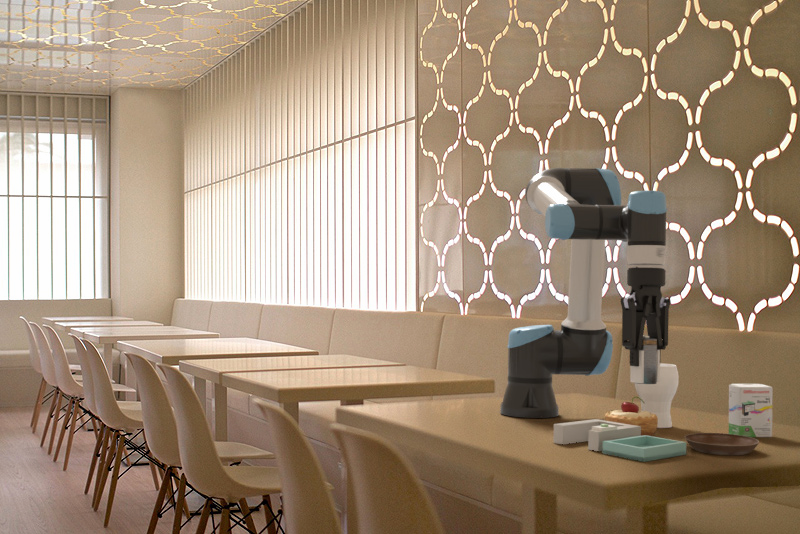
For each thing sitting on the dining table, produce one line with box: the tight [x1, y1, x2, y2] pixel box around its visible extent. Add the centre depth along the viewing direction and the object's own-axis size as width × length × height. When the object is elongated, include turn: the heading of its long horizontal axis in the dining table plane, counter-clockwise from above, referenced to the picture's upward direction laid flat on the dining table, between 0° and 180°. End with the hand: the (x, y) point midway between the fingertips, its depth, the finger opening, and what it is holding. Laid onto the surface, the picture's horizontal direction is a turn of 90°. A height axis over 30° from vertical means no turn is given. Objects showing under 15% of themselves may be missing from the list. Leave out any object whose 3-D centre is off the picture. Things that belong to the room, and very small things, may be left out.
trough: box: [601, 435, 687, 463], centre depth 181 cm, size 10×14×2 cm
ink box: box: [728, 383, 774, 438], centre depth 207 cm, size 8×5×12 cm, turn 101°
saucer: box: [684, 432, 760, 456], centre depth 188 cm, size 15×15×3 cm
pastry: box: [604, 396, 658, 437], centre depth 206 cm, size 12×12×9 cm
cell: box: [632, 334, 657, 384], centre depth 182 cm, size 5×5×10 cm
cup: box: [633, 362, 680, 429], centre depth 220 cm, size 11×11×15 cm
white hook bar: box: [552, 418, 641, 452], centre depth 192 cm, size 12×14×5 cm
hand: (644, 381), depth 182 cm, fingers closed on cell, 4 cm apart
